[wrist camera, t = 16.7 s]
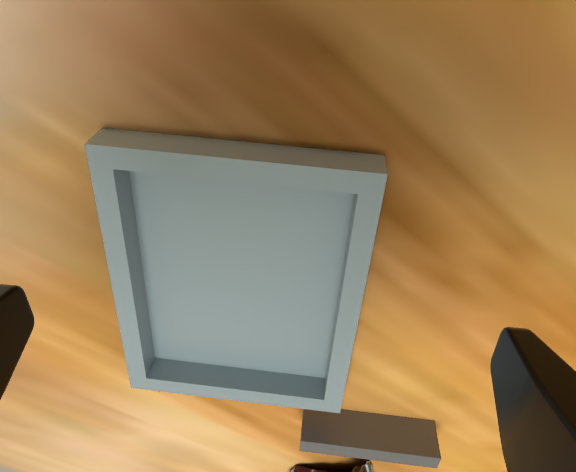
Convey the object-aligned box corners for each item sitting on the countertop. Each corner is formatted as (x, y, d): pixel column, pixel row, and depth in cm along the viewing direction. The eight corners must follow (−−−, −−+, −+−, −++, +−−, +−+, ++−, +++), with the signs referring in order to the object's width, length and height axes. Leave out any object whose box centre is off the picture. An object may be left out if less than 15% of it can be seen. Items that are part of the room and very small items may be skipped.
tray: (383, 149, 20) (387, 174, 18) (340, 380, 29) (339, 413, 27) (108, 123, 21) (84, 144, 19) (144, 357, 29) (131, 387, 28)
